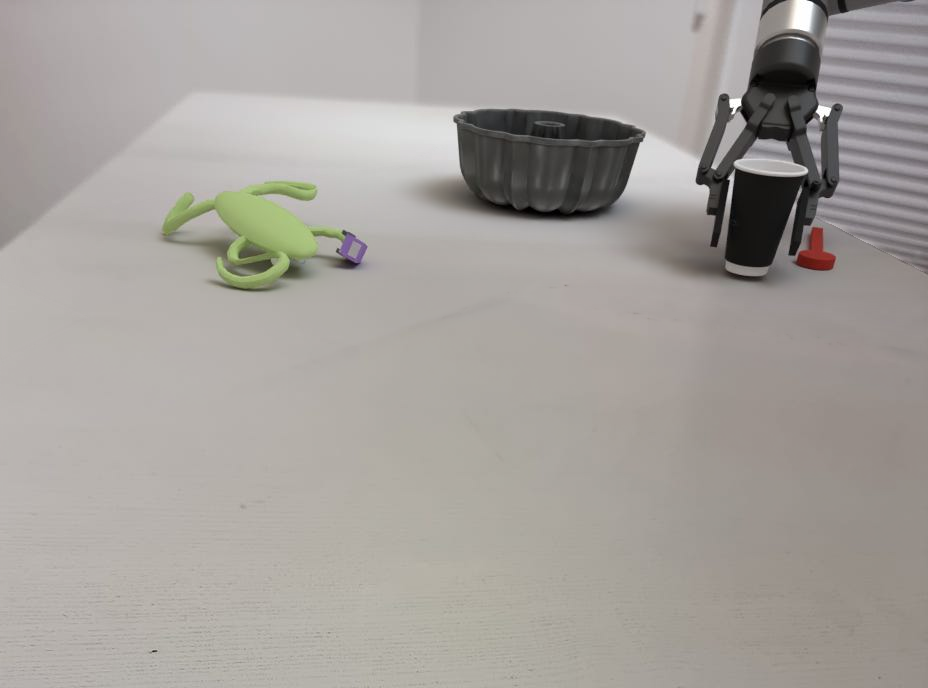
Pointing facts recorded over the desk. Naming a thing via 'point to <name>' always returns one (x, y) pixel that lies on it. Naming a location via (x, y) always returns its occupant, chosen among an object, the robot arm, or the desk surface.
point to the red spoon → (816, 253)
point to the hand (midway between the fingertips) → (754, 244)
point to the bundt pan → (545, 158)
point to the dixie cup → (759, 212)
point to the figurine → (264, 229)
